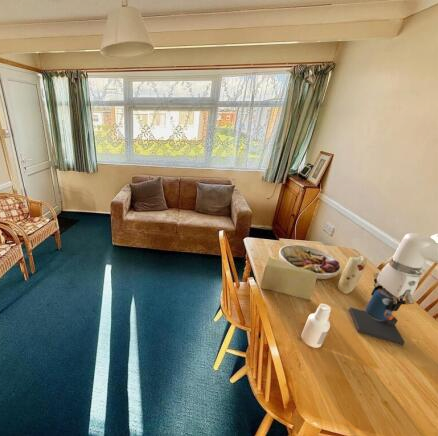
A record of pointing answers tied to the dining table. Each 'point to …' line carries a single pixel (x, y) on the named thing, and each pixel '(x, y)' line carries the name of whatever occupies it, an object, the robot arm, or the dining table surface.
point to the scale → (376, 327)
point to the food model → (351, 274)
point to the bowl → (310, 260)
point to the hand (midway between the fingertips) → (383, 302)
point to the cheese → (288, 279)
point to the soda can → (380, 305)
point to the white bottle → (317, 326)
